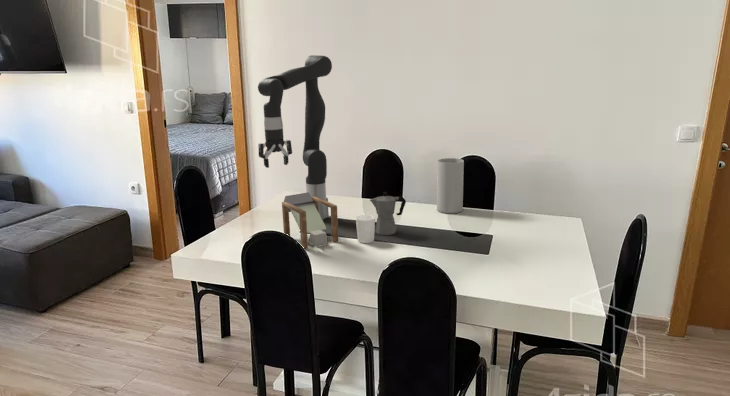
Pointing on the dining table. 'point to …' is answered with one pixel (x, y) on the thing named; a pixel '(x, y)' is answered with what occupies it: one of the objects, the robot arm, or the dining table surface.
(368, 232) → the white cup
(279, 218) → the dining table surface
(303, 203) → the trapdoor
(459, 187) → the cylinder vase
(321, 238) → the gray cube
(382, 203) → the coffeepot
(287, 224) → the frame
